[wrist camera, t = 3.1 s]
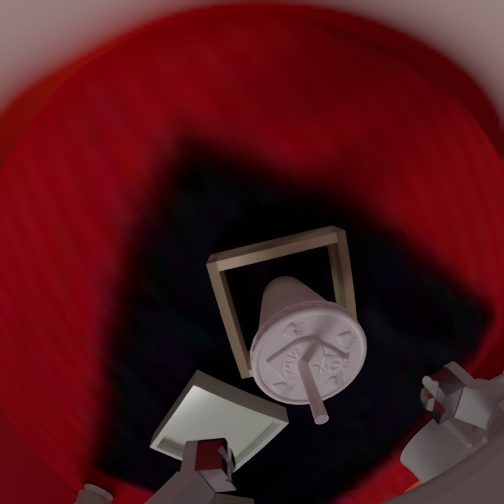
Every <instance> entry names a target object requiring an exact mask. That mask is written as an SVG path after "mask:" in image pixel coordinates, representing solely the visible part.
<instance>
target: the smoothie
mask: <svg viewBox="0 0 504 504" xmlns="http://www.w3.org/2000/svg"><path fill="white" fill-rule="evenodd" d="M366 350H367V343H366V337H365V334H364V331H363V329H362V328H361V326H360V325H359V323H358V322H357V320H356V318H355V317H354V316H353V315H352V314H351V313H350V312H349V311H348V310H347V309H346V308H344V307H342V306H340V305H338V304H336V303H334V302H328V301H326V300H325V299H323V298H322V297H321V296H319V295H318V294H317V293H315V292H314V291H313V290H311V289H310V288H309V287H307V286H306V285H305V284H303V283H302V282H301V281H300V280H298V279H296V278H294V277H291V276H282V277H278V278H276V279H274V280H272V281H271V282H270V283H269V284H268V285H267V286H266V288H265V290H264V293H263V299H262V307H261V315H260V323H259V331H258V332H257V334H256V335H255V337H254V339H253V343H252V346H251V350H250V363H251V367H252V373H253V376H254V379H255V381H256V383H257V385H258V386H259V387H260V389H261V390H262V391H263V392H264V393H266V394H267V395H268V396H270V397H271V398H273V399H275V400H278V401H280V402H284V403H289V404H310V407H311V410H312V413H313V417H314V420H315V423H317V424H323V423H325V422H327V421H328V419H329V417H328V415H327V412H326V409H325V407H324V404H323V401H322V400H325V399H327V398H330V397H332V396H333V395H335V394H337V393H339V392H340V391H341V390H343V389H344V388H345V387H346V386H348V385H349V384H350V383H351V382H352V381H353V379H354V378H355V377H356V376H357V374H358V373H359V371H360V369H361V367H362V365H363V363H364V360H365V356H366Z"/></svg>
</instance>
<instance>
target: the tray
mask: <svg viewBox="0 0 504 504" xmlns="http://www.w3.org/2000/svg"><path fill="white" fill-rule="evenodd" d="M288 423H289V422H288V417H287V412H286V407H283V406H280V405H278V404H275V403H272V402H270V401H267V400H265V399H262V398H260V397H257V396H255V395H252V394H250V393H247V392H245V391H243V390H240V389H238V388H236V387H233V386H231V385H229V384H227V383H224V382H222V381H220V380H218V379H216V378H214V377H211V376H209V375H207V374H205V373H203V372H201V371H199V370H197V371H196V372H195V374H194V375H193V377H192V378H191V380H190V381H189V383H188V384H187V385H186V387H185V388H184V390H183V391H182V393H181V394H180V396H179V397H178V399H177V400H176V402H175V403H174V405H173V406H172V408H171V409H170V410H169V412H168V413H167V415H166V416H165V418H164V419H163V421H162V422H161V424H160V425H159V426H158V428H157V429H156V431H155V432H154V435H153V438H152V441H151V444H150V447H151V448H153V449H155V450H157V451H160V452H162V453H164V454H167V455H169V456H172V457H174V458H177V459H179V460H182V459H183V453H184V447H185V443H186V441H190V440H203V439H215V438H225V439H226V440H227V442H228V447H229V448H231V450H232V451H233V454H234V457H235V462H236V469H235V470H234V471H236V470H237V469H238V468H239V467H241V466H242V465H243V464H244V463H245V462H247V461H248V460H249V459H250V458H251V457H252V456H254V455H255V454H256V453H257V452H258V451H259V450H260V449H262V448H263V447H264V446H265V445H266V444H267V443H268V442H269V441H270V440H271V439H273V438H274V437H275V436H276V435H277V434H278V433H279V432H280V431H281V430H282V429H283V428H284V427H285V426H286V425H287V424H288Z"/></svg>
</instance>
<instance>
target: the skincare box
mask: <svg viewBox="0 0 504 504" xmlns="http://www.w3.org/2000/svg"><path fill="white" fill-rule="evenodd" d="M208 504H254V499H250V498H244V497H237V496H231V495H226V494H220V493H217V494H216V495H214V496H213V498H212V499H211V501H210V502H209V503H208Z"/></svg>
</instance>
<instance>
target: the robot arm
mask: <svg viewBox="0 0 504 504" xmlns="http://www.w3.org/2000/svg"><path fill="white" fill-rule="evenodd" d="M423 384H424V387H423V389H422V390H421V401H422V404H423V406H424V407H425V408H426V410H430V411H432V414H431V416H432V418H433V419H432V420H431V421H430V422H428V423H427V424H426V425H425V426H424V427H423V428H422V429H421V430H420V431H419V432H418V433H417V434H416V435H415V436H414V437H413V438H412V439H411V440H410V441H409V443H408V444H407V445H406V447H405V448H404V450H403V452H402V454H401V457H400V461H401V463H402V464H403V465H405V466H406V467H407V468H408V469H409V470H411V471H412V472H413V473H414V474H415V476H416V477H417V478H418V479H419V480H420V481H421V482H422V484H421V485H419V486H417V487H415V488H413V489H411V490H409V491H407V492H405V493H403V494H401V495H399V496H396V497H394V498H392V499H390V500H387V501H385V502H383V503H380V504H504V374H503V373H502V374H500V375H498V376H496V377H494V378H493V379H491V380H484V379H478V378H477V379H474V378H472V377H471V376H470V375H469V374H468V373H467V372H466V371H465V370H464V369H462V368H461V367H460V366H459V365H458V364H457V363H456V362H453V361H452V362H450V363H449V364H447V365H445V366H443V367H441V368H439V369H437V370H435V371H434V372H432V373H430V374H428V375H426V376H425V377H424V378H423ZM235 469H236V462H235V457H234V454H233V451H232V450H231V448H229V447H228V442H227V440H226V439H225V438H215V439H203V440H190V441H186V443H185V447H184V453H183V459H182V466H181V472H177V473H176V474H175V475H174V476H173V477H172V478H171V479H170V480H169V481H168V482H167V483H166V484H165V485H164V486H163V487H162V488H161V489H160V490H159V491H157V492H156V493H155V494H154V495H153V496H152V497H151V498H150V499H149V500H148V501H147V502H146V503H145V504H208V503H209V502H210V501H211V499H212V498H213V496H214V495H215V492H224V491H233V490H236V476H235V475H234V473H233V472H234V470H235Z"/></svg>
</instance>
